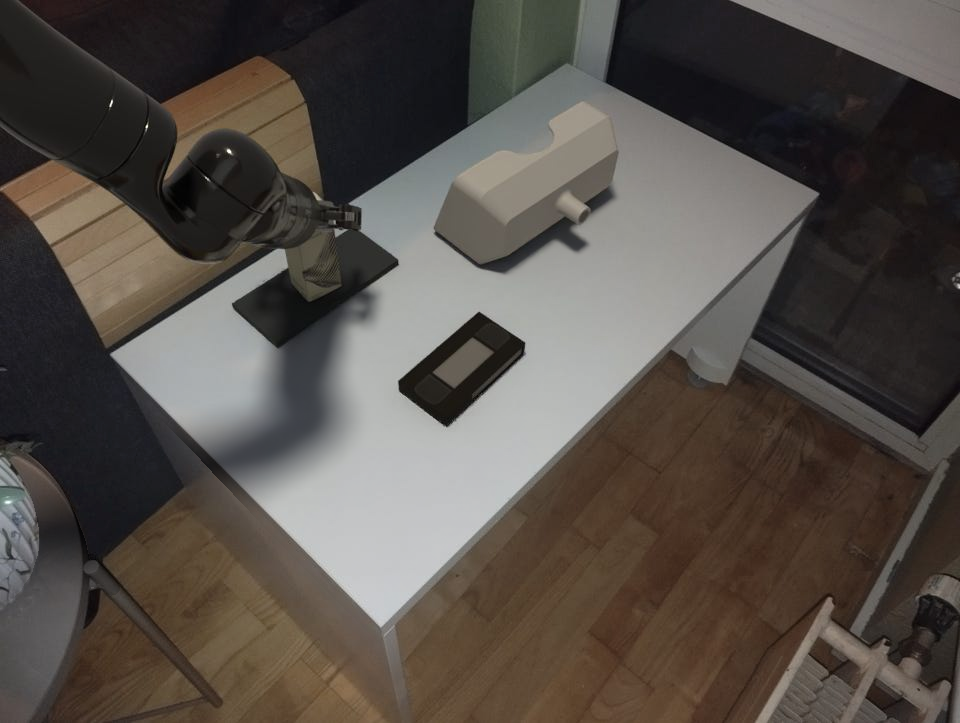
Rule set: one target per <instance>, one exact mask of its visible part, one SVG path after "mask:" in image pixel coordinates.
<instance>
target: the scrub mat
mask: <svg viewBox="0 0 960 723" xmlns="http://www.w3.org/2000/svg"><path fill="white" fill-rule="evenodd" d="M335 237H336V246H337V253H338V261H339V269H340V277H341V284H342V285H341V286H340V287H339V288H337V289H335V290H333V291H331V292H329V293H327V294H325V295H323V296H321V297H319V298H317V299H315V300H313V301H311V302H308V301H307V300H306V299H305V298H304V297H303V296H302V294H301V293H300V292H299V291H298V290H297V289H296V288H295V287H294V285H293V284H292V283H291V278H290V274H289V269H288V267H287V268H285V269H284V270H282V271H281V272H279V273H277V274H276V275H274V276H273V277H270V278H269V279H268V280H266V281H265V282H263V283H262V284H260V285H258V286H257V287H255V288H253V289H252V290H251V291H249V292H247V293H246V294H244V295H243V296H241V297H240V298H238V299H236V300H235V301H233V302H231V306H232V309H233V310H234V311H235V312H236V313H237V314H239V316H241V317H242V318H243V319H244V320H245V321H246V322H247V323H249V324H250V325H251V326H252V327H253V328H254V329H255V330H257V331H258V333H260V334H261V335H262V336H263V337H264V338H265V339H267V341H269V342H270V343H271V344H272V345H273V346H274V347H275V348H277V349H279V348H280V347H282V346H283V345H285V344H287V343H288V342H289V341H290V340H292V339H293V338H295V337H296V336H298V335H299V334H301V333H302V332H303V331H305V330H306V329H308V328H309V327H311V326H312V325H314V324H315V323H316V322H318V321H320V320H321V319H323V318H324V317H325V316H327V315H328V314H330V313H331V312H332V311H334V310H335V309H337V308H338V307H340V306H342V305H343V304H344V303H345V302H347V301H349V299H351V298H353V297H354V296H356V295H358V293H360V292H361V291H363V290H364V289H366V288H367V287H369V286H370V285H371V284H373V283H374V282H376V281H377V280H379V279H380V278H382V277H383V276H385V275H386V274H387V273H389V272H390V271H392V270H393V269H394V268H396V267H398V266H399V265H400V264H399V263H400V262H399V259H398V258H397V257H395V256H394V255H393V254H392V253H391V252H389V251H387V249H385V248H383V247H382V246H381V245H379V244H378V243H377V242H376V241H374V240H373V239H372V238H370V237H369V236H368V235H366V234H365V233H364V232H362V231H361V230H358V231H354V230H353V229H346V230H345V231H344V232H342V233H340V234H339V235H337V236H335Z"/></svg>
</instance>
